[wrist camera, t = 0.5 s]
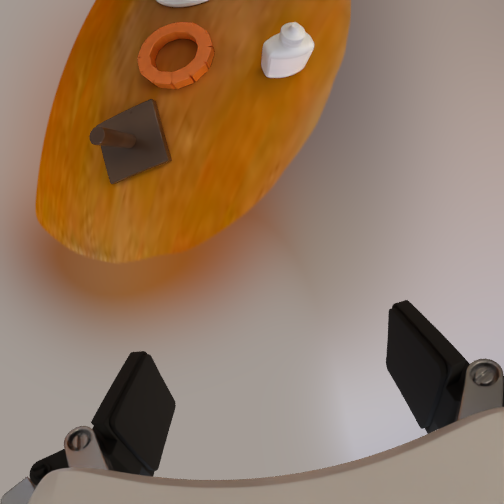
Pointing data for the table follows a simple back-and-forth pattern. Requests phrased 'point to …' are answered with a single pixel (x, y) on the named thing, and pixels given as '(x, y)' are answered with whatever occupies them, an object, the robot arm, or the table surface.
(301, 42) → the eye dropper bottle
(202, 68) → the ring
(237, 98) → the table surface
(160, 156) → the post
